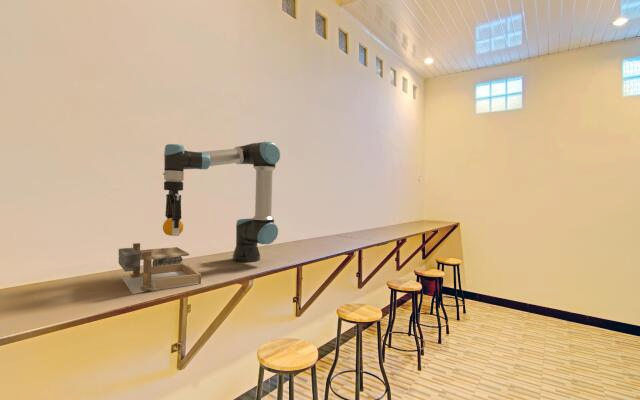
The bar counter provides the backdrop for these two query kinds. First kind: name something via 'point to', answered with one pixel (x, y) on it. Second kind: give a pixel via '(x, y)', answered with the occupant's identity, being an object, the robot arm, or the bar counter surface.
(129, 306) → the bar counter surface
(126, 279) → the tray
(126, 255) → the trapdoor
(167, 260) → the rock
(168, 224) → the orange
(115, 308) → the bar counter surface
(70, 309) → the bar counter surface
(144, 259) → the gallows posts
